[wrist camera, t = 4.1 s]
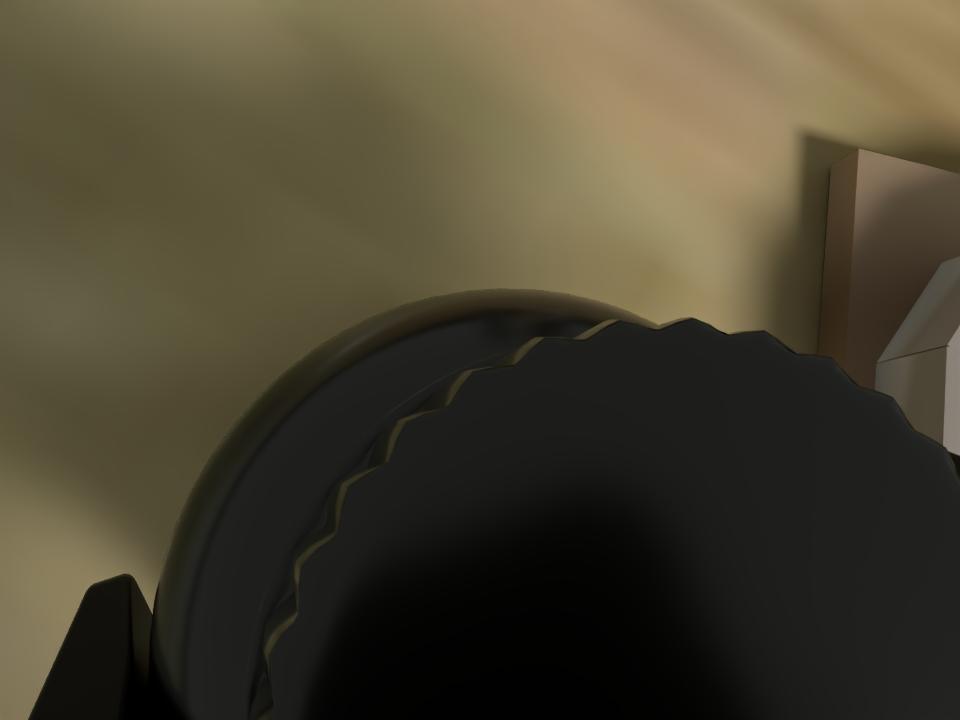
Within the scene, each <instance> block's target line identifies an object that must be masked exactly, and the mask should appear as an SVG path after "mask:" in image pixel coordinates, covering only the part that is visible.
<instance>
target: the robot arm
mask: <svg viewBox="0 0 960 720" xmlns="http://www.w3.org/2000/svg"><path fill="white" fill-rule="evenodd" d="M948 452H949V451H948ZM949 454H950V456H951V458H952V460H953V462H954V464H955V467H956V471H957V473H958V475H959V477H960V455H957V454H955V453H952V452H949ZM152 616H153V615H152V613H151V611H150V609H149V607H148V605H147V603H146V601H145V598H144V596H143V594H142V592H141V590H140V588H139V586H138V584H137V582H136V580H135V579H134V578H133V576H131V575H130V574H122V575H119V576H116V577H113V578H110V579H107V580H104V581H101V582H98V583H95V584H93V585H91V586H90V587H89V588H88V590H87V591H86V593H85V595H84V597H83V600H82V602H81V604H80V606H79V608H78V611H77V613H76V615H75V617H74V619H73V622H72V624H71V626H70V628H69V630H68V633H67V635H66V637H65V639H64V641H63V644H62V646H61V648H60V650H59V652H58V655H57V657H56V659H55V661H54V663H53V666H52V668H51V670H50V672H49V674H48V677H47V679H46V681H45V683H44V685H43V688H42V690H41V692H40V694H39V697H38V699H37V701H36V703H35V705H34V708H33V710H32V712H31V714H30V716H29V719H28V720H151V714H150V698H149V683H148V667H149V639H150V630H151V623H152Z"/></svg>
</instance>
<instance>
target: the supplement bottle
mask: <svg viewBox="0 0 960 720" xmlns="http://www.w3.org/2000/svg"><path fill="white" fill-rule="evenodd" d="M148 683H149V698H150V714H151V720H960V477H959V475H958V473H957V471H956V467H955V464H954V462H953V460H952V458H951V456H950V454H949V452H948V450H947V448H946V447H944V446H943V445H941V444H940V443H938V442H937V441H935V440H934V439H932V438H930V437H928V436H926V435H924V434H922V433H920V432H918V431H917V430H915V429H914V428H913V426H912V425H911V424H910V422H909V421H908V419H907V418H906V415H905V413H904V411H903V410H902V409H901V407H900V406H899V405H898V403H897V402H896V401H895V399H894V398H893V397H892V396H889V395H887V394H884V393H881V392H879V391H876V390H873V389H869V388H865V387H862V386H859V385H858V384H857V383H856V382H855V381H854V380H853V379H852V378H851V377H850V376H849V375H848V373H847V372H846V370H845V369H844V368H842V367H841V366H840V365H839V364H838V363H837V362H836V361H835V360H834V359H833V358H832V357H828V356H821V355H815V354H797V353H795V352H794V351H793V350H792V349H790V348H789V347H788V346H786V345H785V344H784V343H783V342H781V341H780V340H778V339H777V338H775V337H774V336H772V335H771V334H769V333H768V332H766V331H764V330H753V331H741V332H734V333H730V334H727V333H724V332H722V331H719V330H717V329H716V328H714V327H713V326H712V325H710V324H707V323H705V322H702V321H700V320H697V319H695V318H692V317H687V318H680V319H677V320H673V321H670V322H667V323H664V324H661V325H657V324H655V323H653V322H651V321H649V320H647V319H644V318H642V317H640V316H638V315H635V314H633V313H631V312H629V311H626V310H623V309H620V308H617V307H614V306H611V305H608V304H605V303H602V302H599V301H596V300H592V299H587V298H583V297H579V296H574V295H570V294H565V293H557V292H549V291H542V290H532V289H486V290H471V291H463V292H457V293H451V294H446V295H440V296H434V297H431V298H427V299H423V300H420V301H416V302H412V303H409V304H405V305H402V306H399V307H397V308H394V309H391V310H389V311H386V312H384V313H381V314H378V315H376V316H373V317H371V318H369V319H367V320H365V321H363V322H361V323H359V324H357V325H355V326H353V327H351V328H349V329H347V330H345V331H343V332H341V333H339V334H338V335H336V336H335V337H333V338H331V339H330V340H328V341H327V342H325V343H323V344H322V345H320V346H319V347H317V348H315V349H314V350H312V351H311V352H310V353H308V354H307V355H306V356H304V357H303V358H302V359H301V360H299V361H298V362H297V363H295V364H294V365H293V366H292V367H290V368H289V369H288V370H286V371H285V372H284V373H283V374H282V375H281V376H279V377H278V378H277V379H276V380H275V381H274V382H273V383H272V384H271V385H270V386H269V387H268V388H267V389H266V390H265V391H264V392H263V393H261V394H260V395H259V396H258V397H257V398H256V399H255V401H254V402H253V403H252V404H251V405H250V406H249V408H248V409H247V410H246V411H245V412H244V413H243V414H242V416H241V417H240V418H239V419H238V420H237V421H236V422H235V424H234V425H233V426H232V427H231V429H230V430H229V432H228V433H227V434H226V436H225V437H224V439H223V440H222V441H221V443H220V444H219V446H218V447H217V448H216V450H215V451H214V453H213V454H212V455H211V457H210V459H209V461H208V462H207V464H206V466H205V467H204V469H203V471H202V473H201V474H200V476H199V478H198V480H197V481H196V483H195V485H194V487H193V488H192V490H191V493H190V495H189V497H188V499H187V501H186V504H185V506H184V508H183V510H182V512H181V515H180V517H179V519H178V521H177V523H176V526H175V529H174V532H173V535H172V538H171V541H170V544H169V547H168V550H167V553H166V555H165V558H164V562H163V566H162V570H161V574H160V579H159V583H158V587H157V591H156V596H155V601H154V608H153V616H152V623H151V630H150V639H149V667H148Z"/></svg>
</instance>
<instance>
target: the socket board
mask: <svg viewBox="0 0 960 720" xmlns="http://www.w3.org/2000/svg"><path fill="white" fill-rule="evenodd" d="M818 355H821V356H828V357H832V358H833V359H834V360H835V361H836V362H837V363H838V364H839V365H840V366H841V367H842V368H844V369H845V370H846V372H847V373H848V375H849V376H850V377H851V378H852V379H853V380H854V381H855V382H856V383H857V384H858V385H859V386H862V387H865V388H869V389H873V390H876V391H879V392H881V393H884V394H887V395H889V396H892V397H893V398H894V399H895V401H896V402H897V403H898V405H899V406H900V407H901V409H902V410H903V411H904V413H905V415H906V418H907V419H908V421H909V422H910V424H911V425H912V426H913V428H914V429H915V430H917V431H918V432H920V433H922V434H924V435H926V436H928V437H930V438H932V439H934V440H935V441H937V442H938V443H940V444H941V445H943V446H944V447H946V448H947V450H948V451H949V452H952V453H955V454H957V455H960V174H959V173H955V172H951V171H947V170H943V169H939V168H935V167H931V166H927V165H923V164H919V163H915V162H911V161H907V160H903V159H899V158H895V157H891V156H887V155H883V154H879V153H875V152H871V151H867V150H863V149H857V150H856V151H854V152H852V153H851V154H849V155H848V156H846V157H845V158H843V159H841V160H840V161H838V162H837V163H835V164H833V165H832V166H831V172H830V187H829V201H828V215H827V230H826V244H825V258H824V272H823V287H822V301H821V315H820V330H819V344H818Z"/></svg>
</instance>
